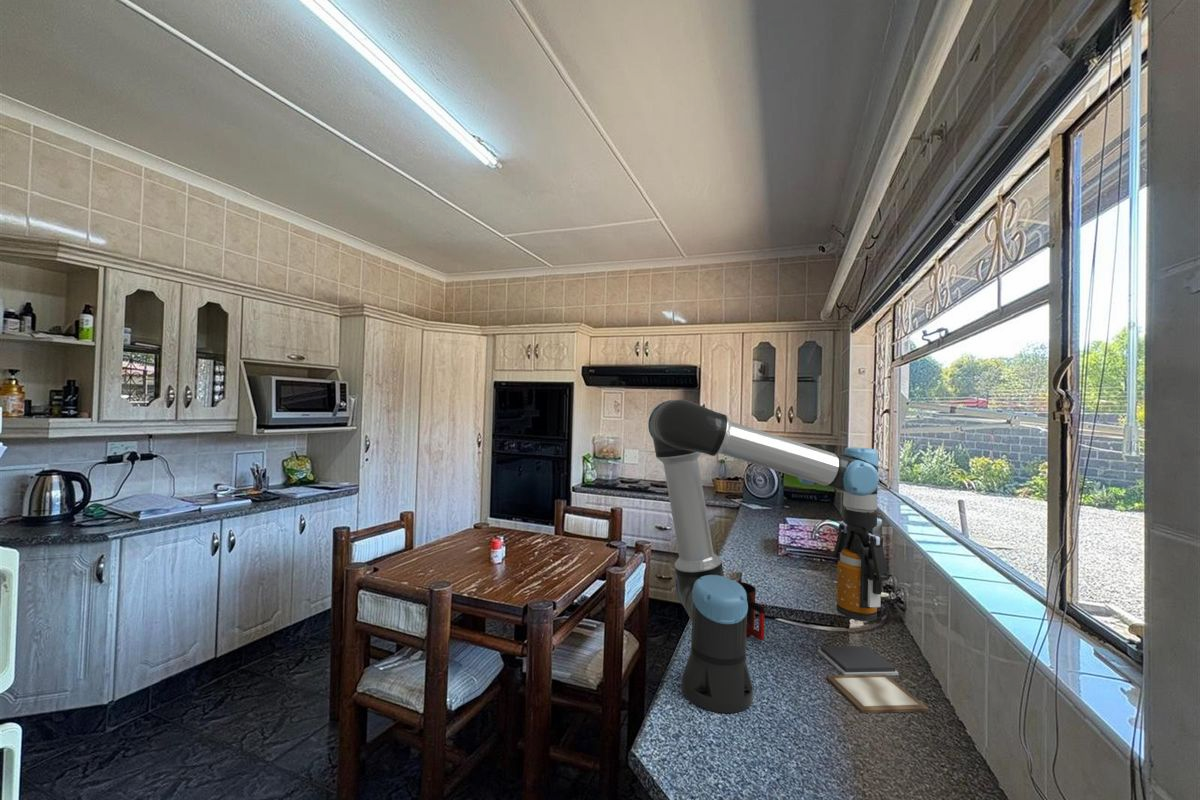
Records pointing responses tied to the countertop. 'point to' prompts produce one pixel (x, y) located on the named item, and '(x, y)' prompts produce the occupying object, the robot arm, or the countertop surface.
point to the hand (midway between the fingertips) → (858, 597)
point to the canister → (854, 585)
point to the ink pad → (857, 660)
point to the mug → (753, 613)
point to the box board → (876, 694)
